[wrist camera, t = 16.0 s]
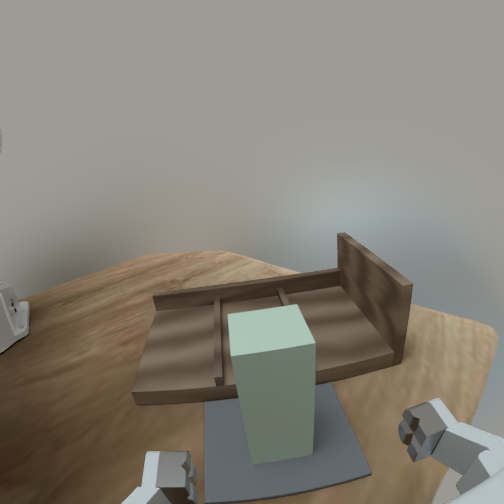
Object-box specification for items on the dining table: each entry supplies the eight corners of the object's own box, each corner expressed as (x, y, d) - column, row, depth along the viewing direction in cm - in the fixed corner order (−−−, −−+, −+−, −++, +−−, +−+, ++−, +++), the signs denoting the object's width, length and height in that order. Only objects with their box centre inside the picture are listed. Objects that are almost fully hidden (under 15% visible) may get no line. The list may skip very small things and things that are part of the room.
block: (312, 454, 22) (315, 342, 18) (252, 464, 22) (230, 356, 18) (300, 414, 27) (296, 304, 23) (246, 422, 26) (227, 314, 22)
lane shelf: (400, 363, 31) (412, 283, 28) (137, 404, 29) (105, 327, 26) (344, 292, 49) (344, 232, 46) (160, 318, 47) (146, 258, 44)
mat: (370, 474, 19) (371, 472, 19) (205, 504, 18) (204, 502, 18) (330, 384, 30) (330, 382, 30) (205, 404, 29) (204, 401, 29)
